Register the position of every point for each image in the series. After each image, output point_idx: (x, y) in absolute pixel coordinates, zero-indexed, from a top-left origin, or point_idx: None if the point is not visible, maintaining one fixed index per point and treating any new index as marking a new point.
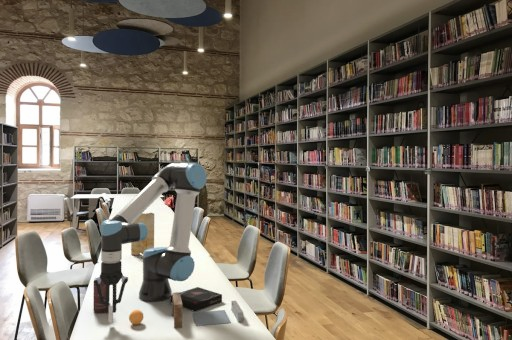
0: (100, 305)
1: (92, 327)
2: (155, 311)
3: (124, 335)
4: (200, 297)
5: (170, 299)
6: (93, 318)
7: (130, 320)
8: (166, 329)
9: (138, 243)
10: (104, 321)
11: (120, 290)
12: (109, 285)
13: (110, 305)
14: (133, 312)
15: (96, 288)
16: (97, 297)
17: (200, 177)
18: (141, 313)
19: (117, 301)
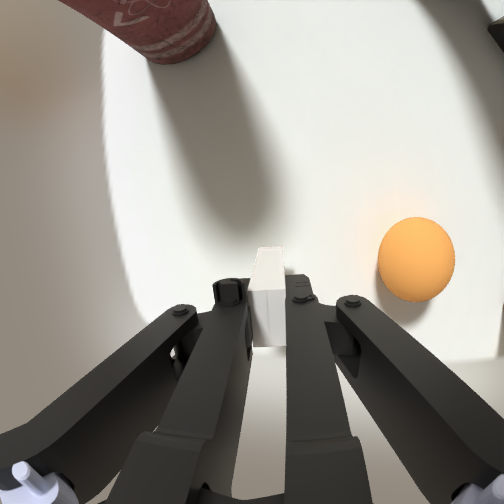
0: (162, 47)
1: (180, 258)
2: (466, 99)
3: None
4: None
5: (494, 25)
6: (156, 134)
7: (384, 283)
8: (483, 316)
9: None
10: (224, 181)
11: (389, 440)
12: (213, 474)
13: (268, 343)
14: (417, 289)
15: (74, 4)
16: (119, 31)
17: None
18: (450, 278)
19: (332, 346)
